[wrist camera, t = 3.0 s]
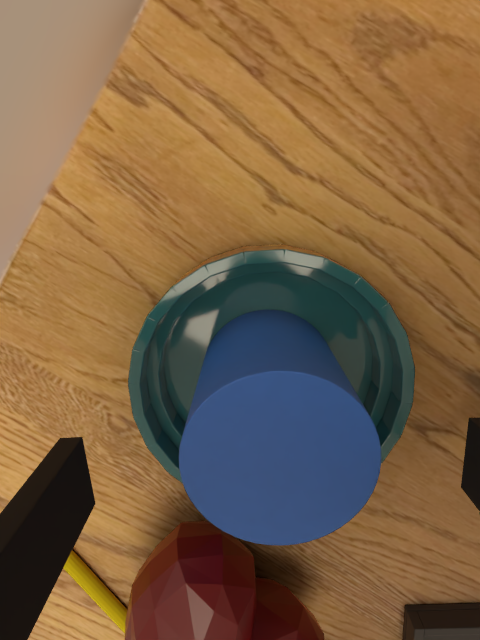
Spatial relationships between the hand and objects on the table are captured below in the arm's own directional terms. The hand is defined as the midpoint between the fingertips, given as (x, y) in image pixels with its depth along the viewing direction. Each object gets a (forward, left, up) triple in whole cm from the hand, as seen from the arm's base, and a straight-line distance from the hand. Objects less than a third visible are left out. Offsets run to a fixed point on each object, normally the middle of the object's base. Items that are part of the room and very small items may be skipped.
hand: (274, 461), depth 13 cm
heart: (+4, +14, -9) cm, 17 cm away
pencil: (+11, +16, -9) cm, 21 cm away
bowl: (0, 0, -8) cm, 8 cm away
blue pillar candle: (0, 0, -8) cm, 8 cm away
